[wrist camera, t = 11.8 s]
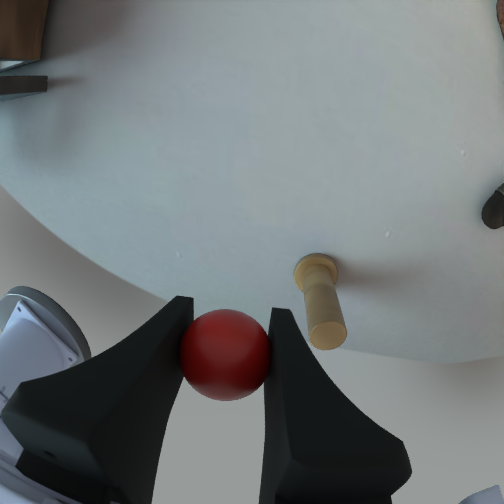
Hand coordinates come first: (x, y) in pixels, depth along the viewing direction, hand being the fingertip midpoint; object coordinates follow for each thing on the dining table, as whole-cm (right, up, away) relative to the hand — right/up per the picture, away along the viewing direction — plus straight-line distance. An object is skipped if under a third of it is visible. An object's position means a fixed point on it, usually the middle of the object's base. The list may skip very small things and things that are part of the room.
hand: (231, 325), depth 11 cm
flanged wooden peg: (+5, +1, +11) cm, 12 cm away
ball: (0, 0, 0) cm, 0 cm away
